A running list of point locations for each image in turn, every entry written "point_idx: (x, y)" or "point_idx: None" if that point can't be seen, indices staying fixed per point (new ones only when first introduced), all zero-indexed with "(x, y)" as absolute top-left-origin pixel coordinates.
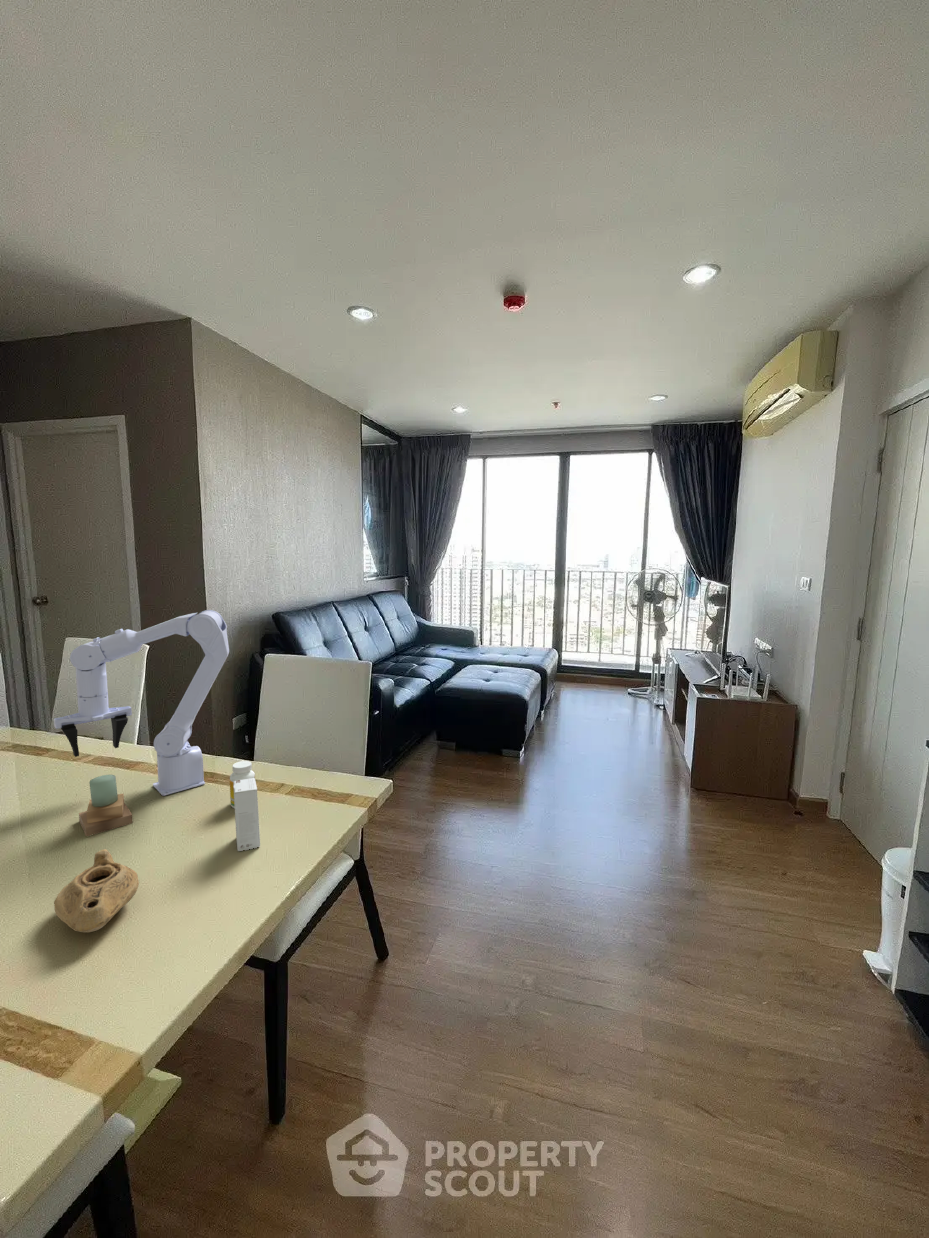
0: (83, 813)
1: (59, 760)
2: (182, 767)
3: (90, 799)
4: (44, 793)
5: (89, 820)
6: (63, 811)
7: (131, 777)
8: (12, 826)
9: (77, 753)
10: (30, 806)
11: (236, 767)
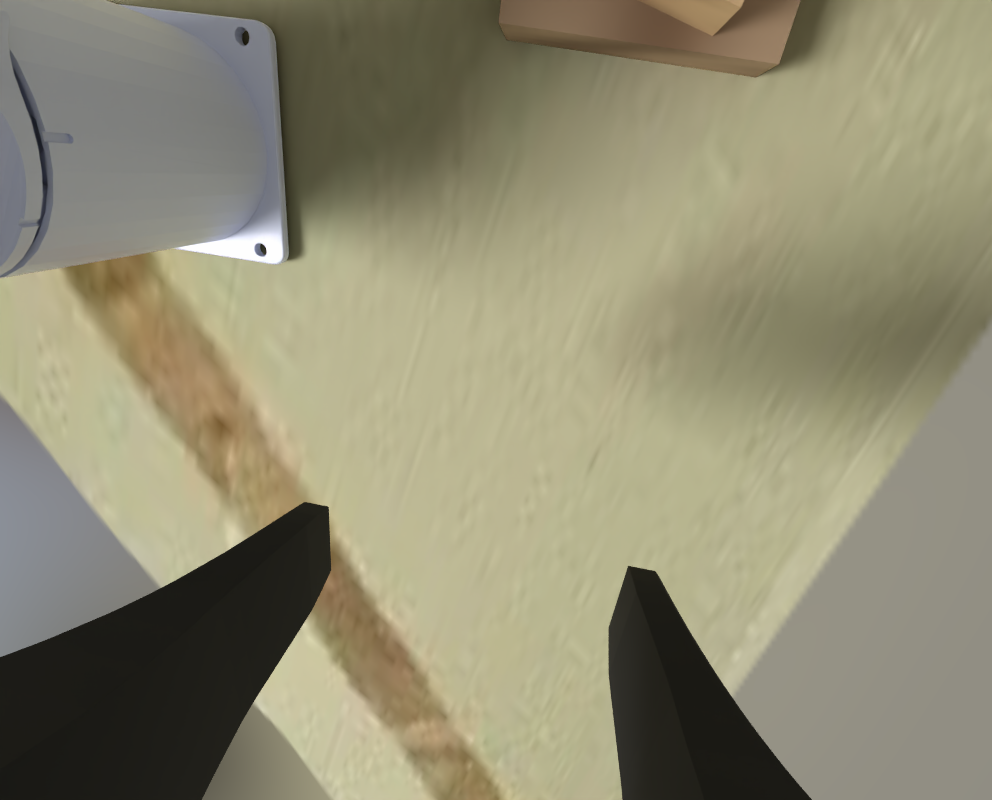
0: (767, 21)
1: (503, 785)
2: None
3: (735, 5)
4: (674, 578)
5: None
6: (729, 313)
7: (349, 452)
8: (976, 336)
9: (649, 586)
10: (783, 498)
11: None
